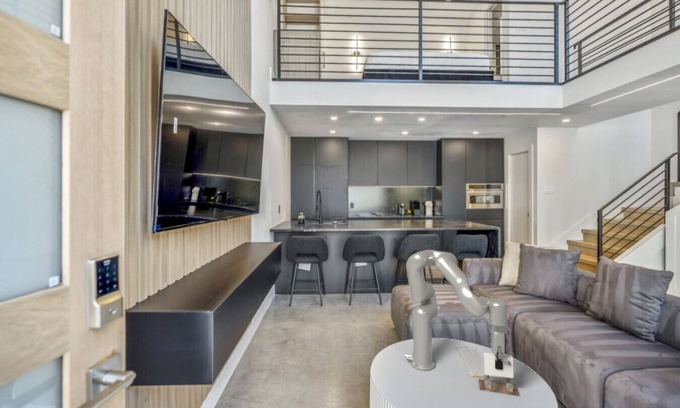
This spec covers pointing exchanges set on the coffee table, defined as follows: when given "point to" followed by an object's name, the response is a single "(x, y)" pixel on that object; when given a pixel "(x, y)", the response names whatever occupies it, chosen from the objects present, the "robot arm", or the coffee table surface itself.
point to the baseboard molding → (473, 362)
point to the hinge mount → (498, 386)
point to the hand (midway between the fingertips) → (498, 366)
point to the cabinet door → (490, 369)
